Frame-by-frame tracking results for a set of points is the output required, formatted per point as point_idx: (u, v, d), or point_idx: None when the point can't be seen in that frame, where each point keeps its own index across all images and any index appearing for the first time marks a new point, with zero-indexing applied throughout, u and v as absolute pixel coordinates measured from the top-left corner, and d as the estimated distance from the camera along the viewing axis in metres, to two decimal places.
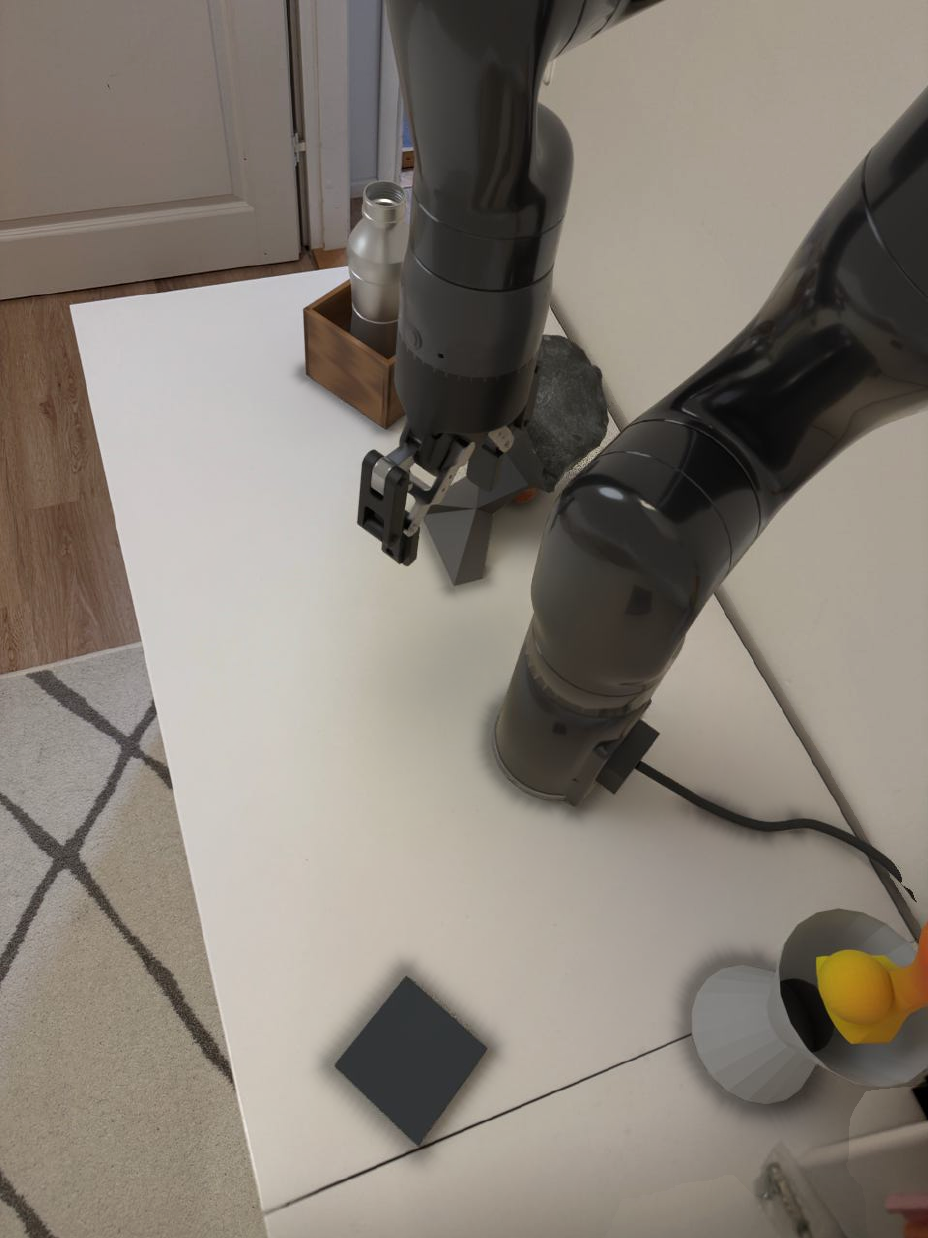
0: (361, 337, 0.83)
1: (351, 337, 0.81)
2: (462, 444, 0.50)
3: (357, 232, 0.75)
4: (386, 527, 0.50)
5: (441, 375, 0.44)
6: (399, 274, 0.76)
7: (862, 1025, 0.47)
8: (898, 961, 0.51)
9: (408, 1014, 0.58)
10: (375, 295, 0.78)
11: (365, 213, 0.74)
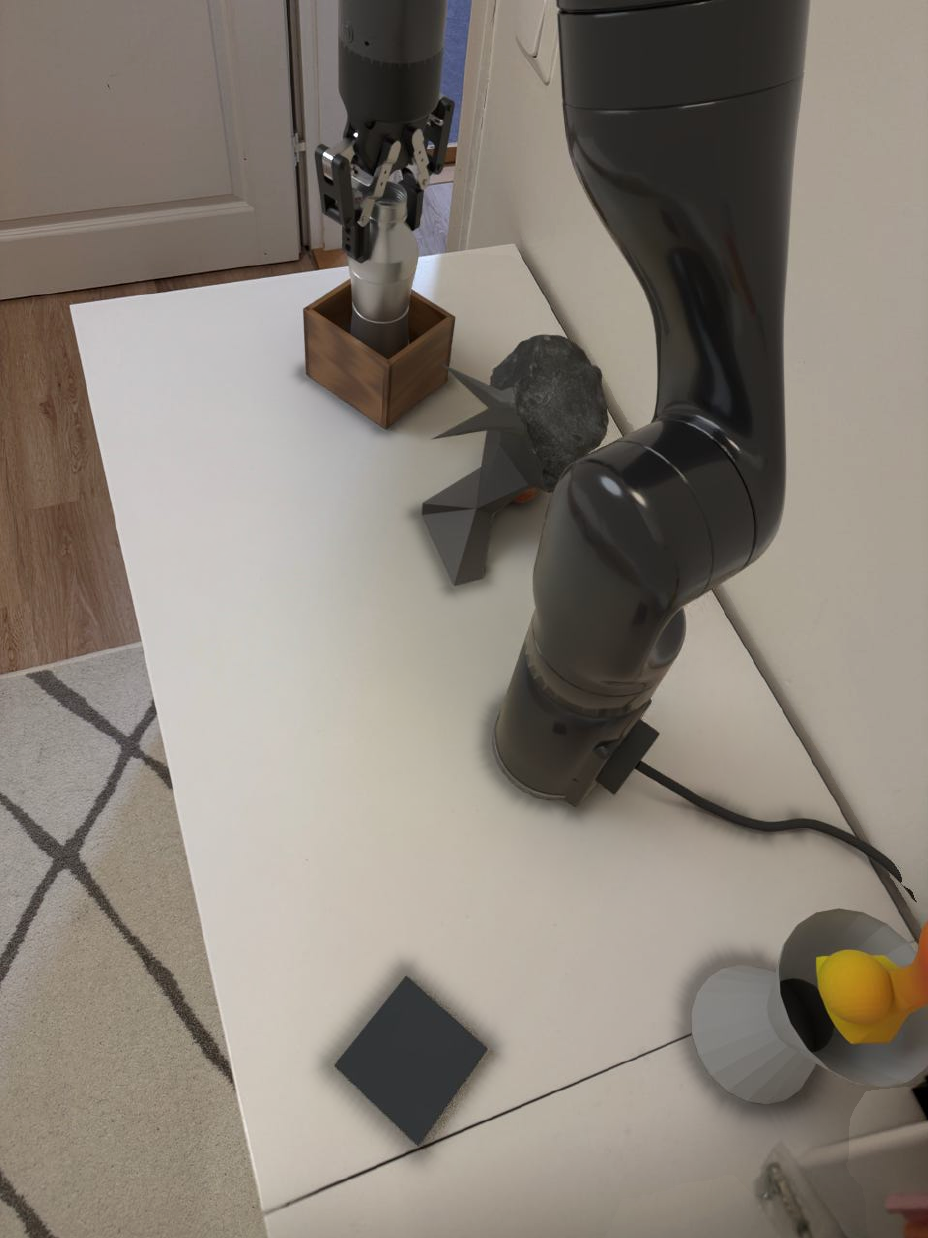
0: (361, 337, 0.83)
1: (351, 337, 0.81)
2: (390, 141, 0.67)
3: None
4: (340, 209, 0.68)
5: (368, 62, 0.61)
6: (399, 274, 0.76)
7: (862, 1025, 0.47)
8: (898, 961, 0.51)
9: (408, 1014, 0.58)
10: (375, 295, 0.78)
11: None
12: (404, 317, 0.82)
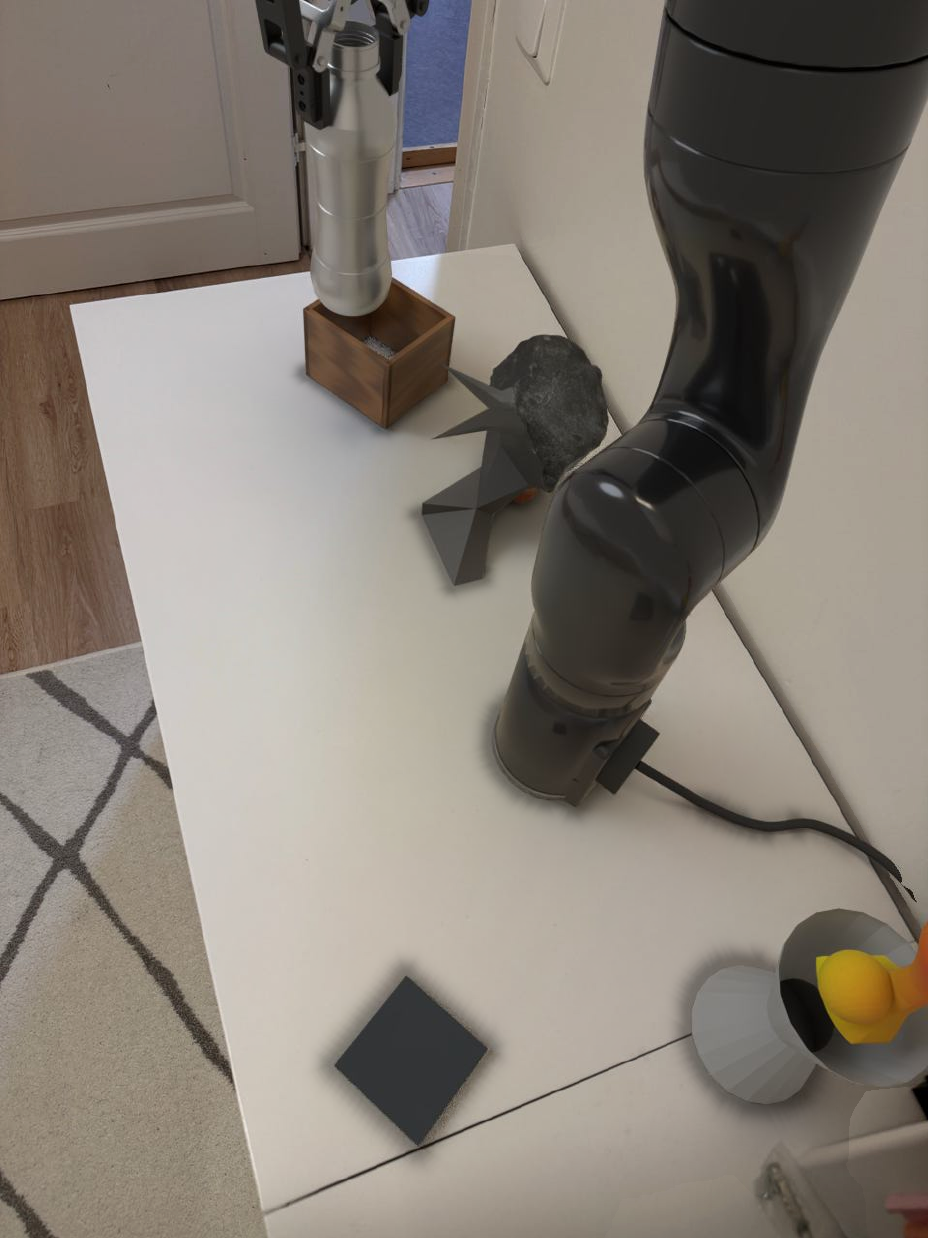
0: (327, 240, 0.66)
1: (351, 337, 0.81)
2: None
3: None
4: (285, 38, 0.51)
5: None
6: (371, 146, 0.59)
7: (862, 1025, 0.47)
8: (898, 961, 0.51)
9: (408, 1014, 0.58)
10: (341, 177, 0.61)
11: None
12: (381, 214, 0.65)
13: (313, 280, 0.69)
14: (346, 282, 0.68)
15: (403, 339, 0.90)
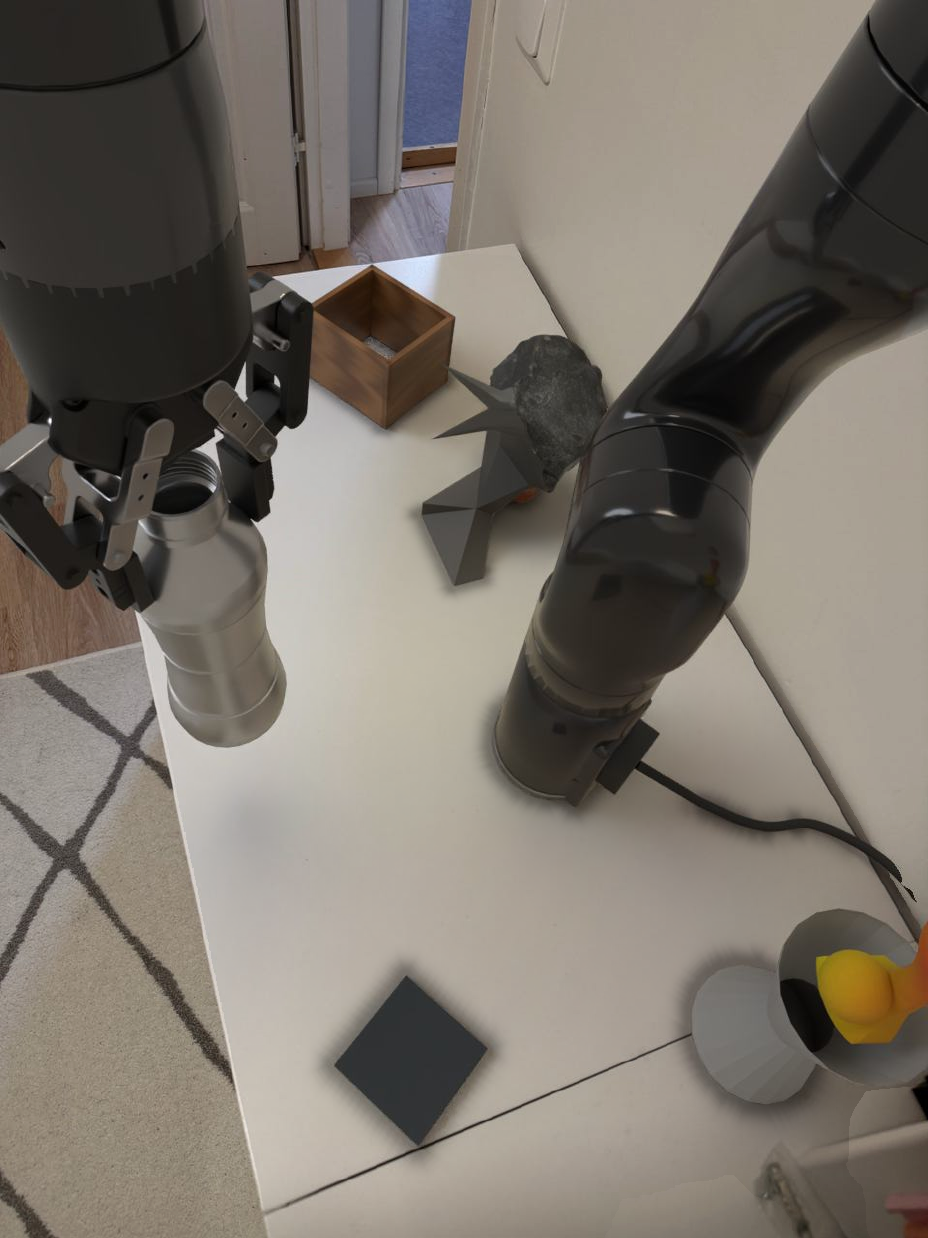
0: (179, 685, 0.45)
1: (351, 337, 0.81)
2: (144, 422, 0.29)
3: None
4: (41, 564, 0.30)
5: (20, 285, 0.23)
6: (222, 618, 0.38)
7: (862, 1025, 0.47)
8: (898, 961, 0.51)
9: (408, 1014, 0.58)
10: (183, 645, 0.40)
11: None
12: (255, 654, 0.44)
13: (171, 708, 0.49)
14: (213, 726, 0.47)
15: (403, 339, 0.90)
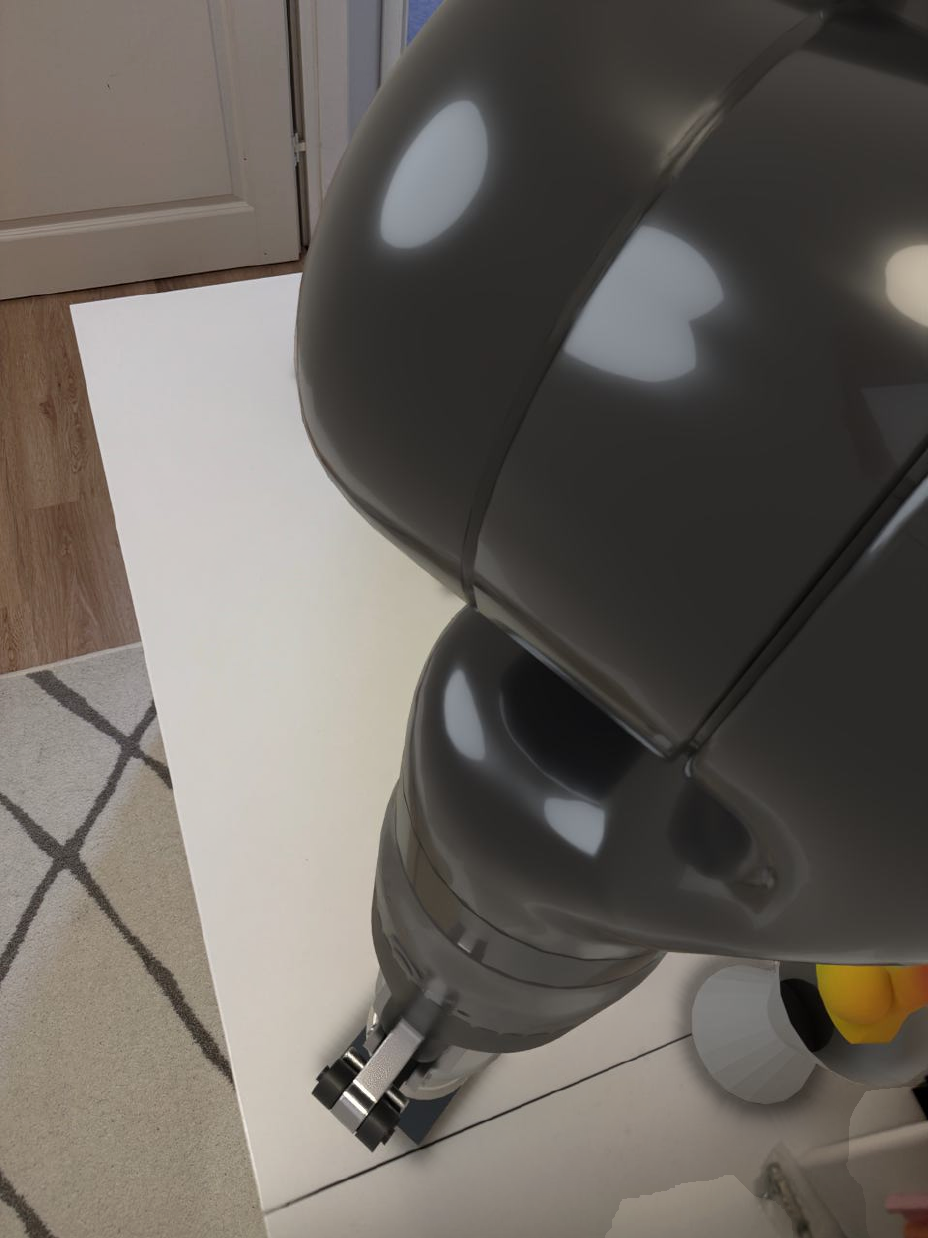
0: None
1: None
2: None
3: None
4: None
5: (464, 1023, 0.22)
6: None
7: (862, 1025, 0.47)
8: None
9: None
10: None
11: None
12: None
13: None
14: (424, 1093, 0.45)
15: None
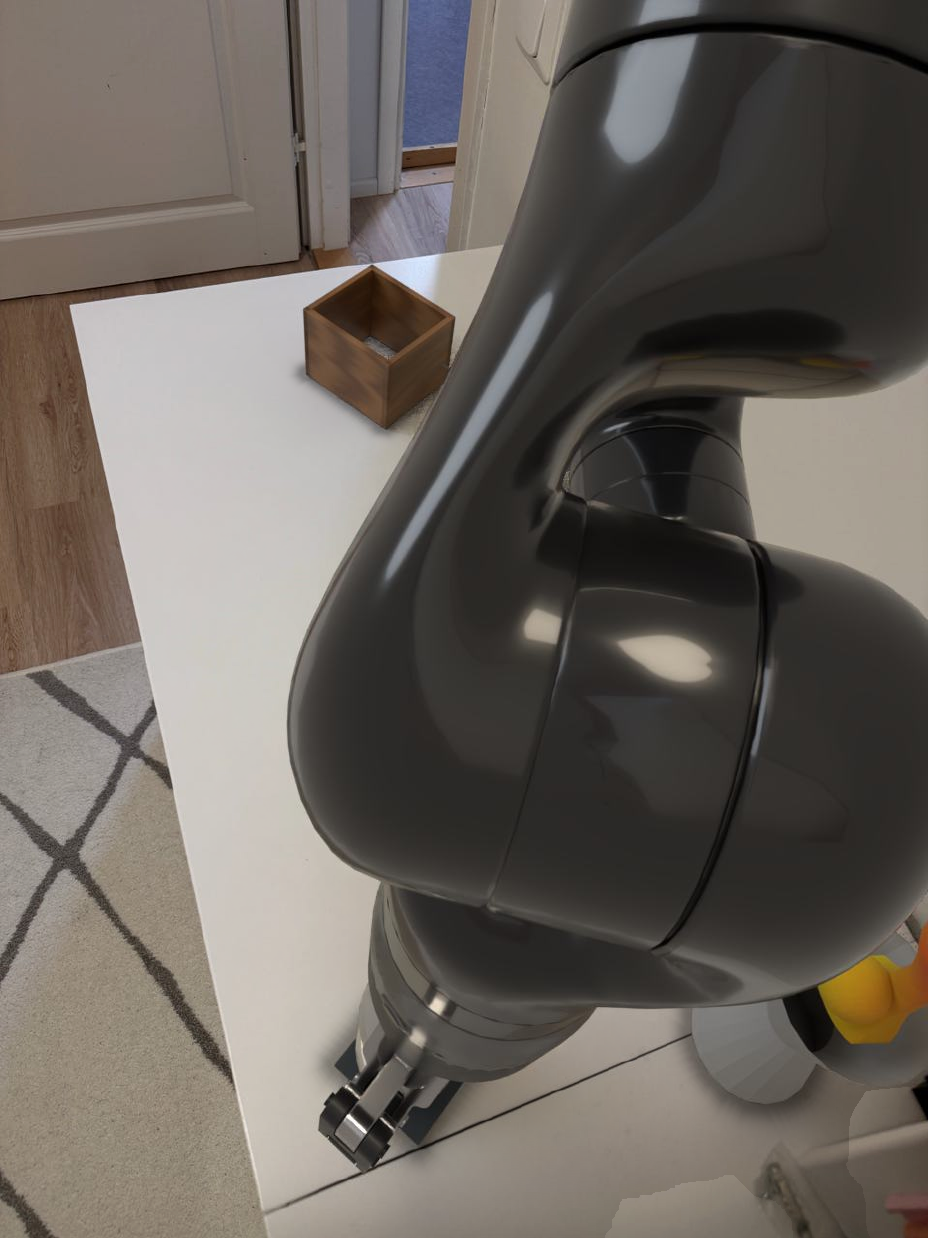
0: None
1: (351, 337, 0.81)
2: None
3: None
4: (360, 1167, 0.34)
5: (441, 1062, 0.27)
6: None
7: (862, 1025, 0.47)
8: (898, 961, 0.51)
9: None
10: None
11: None
12: None
13: None
14: None
15: (403, 339, 0.90)
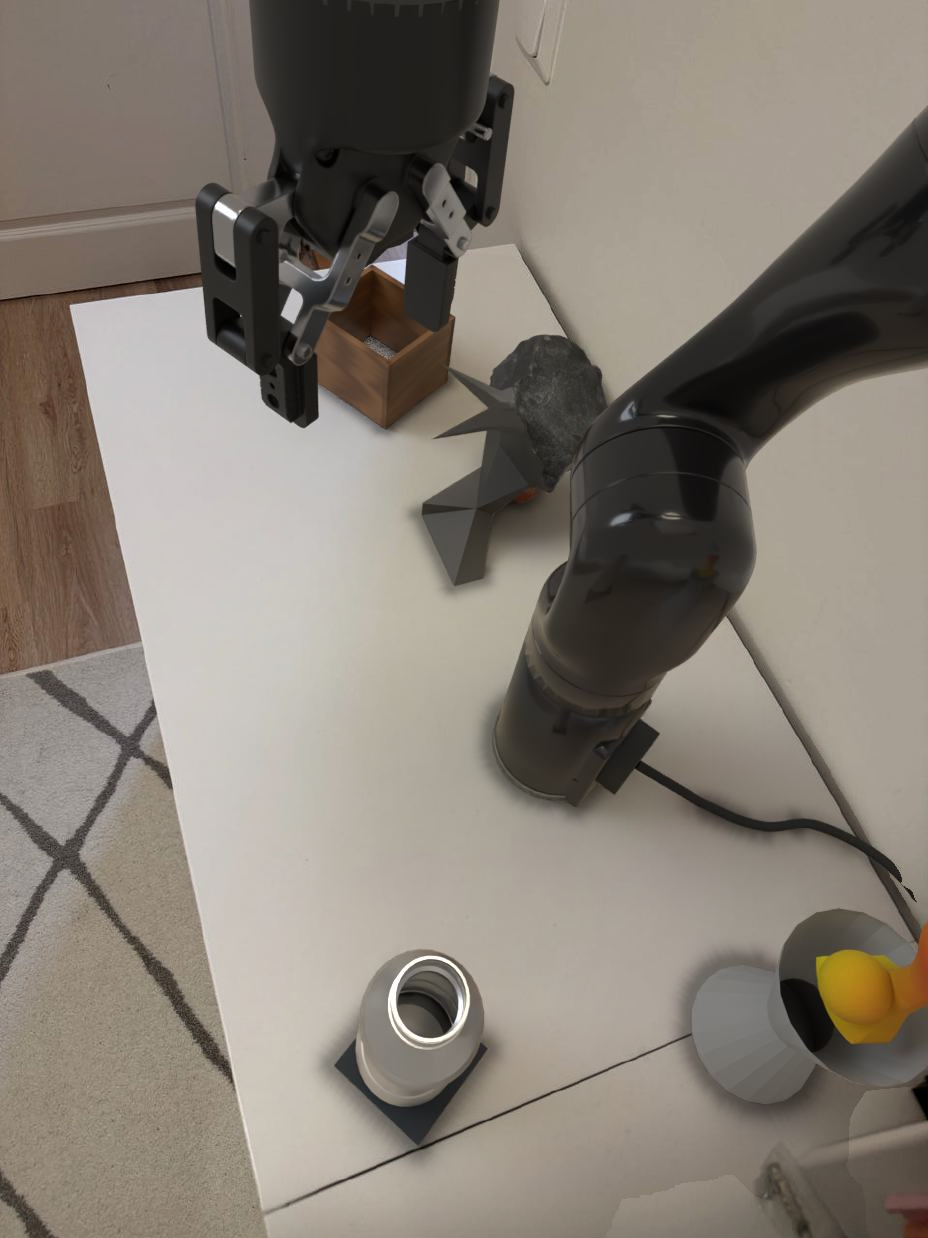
0: (382, 1079, 0.50)
1: (351, 337, 0.81)
2: (375, 193, 0.30)
3: (379, 1026, 0.43)
4: (248, 333, 0.30)
5: (317, 2, 0.24)
6: None
7: (862, 1025, 0.47)
8: (898, 961, 0.51)
9: None
10: None
11: (394, 1026, 0.41)
12: None
13: (360, 1073, 0.54)
14: (404, 1101, 0.52)
15: (403, 339, 0.90)
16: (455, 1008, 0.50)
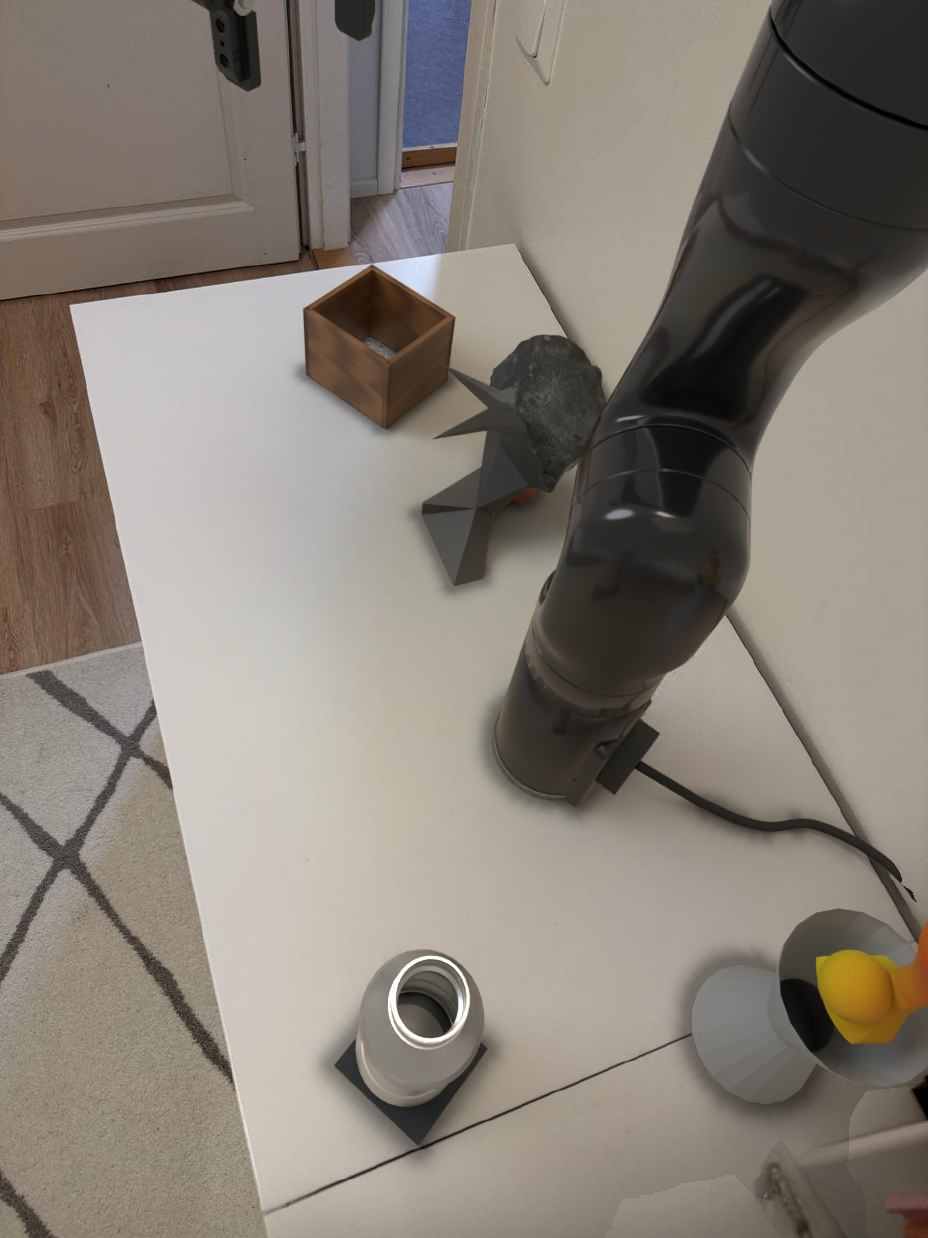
0: (382, 1079, 0.50)
1: (351, 337, 0.81)
2: None
3: (379, 1026, 0.43)
4: None
5: None
6: None
7: (862, 1025, 0.47)
8: (898, 961, 0.51)
9: None
10: None
11: (394, 1026, 0.41)
12: None
13: (360, 1073, 0.54)
14: (404, 1101, 0.52)
15: (403, 339, 0.90)
16: (455, 1008, 0.50)
